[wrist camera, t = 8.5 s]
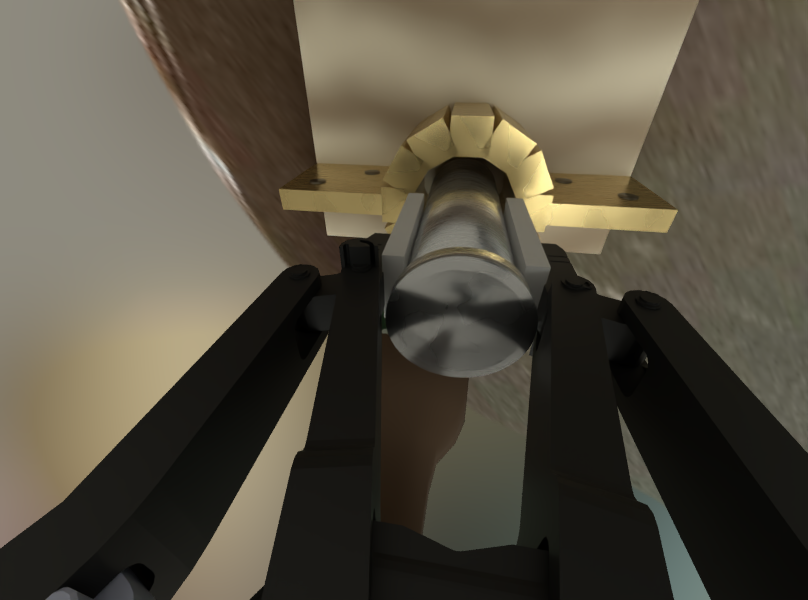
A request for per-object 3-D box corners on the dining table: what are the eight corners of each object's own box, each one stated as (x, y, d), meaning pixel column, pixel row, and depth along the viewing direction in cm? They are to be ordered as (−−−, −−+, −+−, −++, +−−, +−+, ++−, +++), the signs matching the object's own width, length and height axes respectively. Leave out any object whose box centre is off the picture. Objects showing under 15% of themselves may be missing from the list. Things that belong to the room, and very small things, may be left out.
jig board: (296, -37, 19) (287, -42, 18) (706, -52, 16) (721, -59, 15) (332, 229, 28) (327, 235, 27) (595, 246, 25) (600, 254, 25)
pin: (427, 151, 20) (382, 253, 9) (507, 154, 19) (557, 267, 9) (424, 224, 22) (387, 369, 12) (494, 229, 22) (520, 384, 11)
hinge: (307, 99, 22) (261, 111, 17) (657, 106, 19) (722, 121, 14) (326, 229, 27) (295, 266, 22) (602, 248, 24) (635, 294, 19)
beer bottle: (487, 265, 28) (532, 724, 9) (449, 328, 32) (422, 719, 13) (401, 230, 27) (241, 641, 8) (374, 300, 32) (232, 666, 13)
